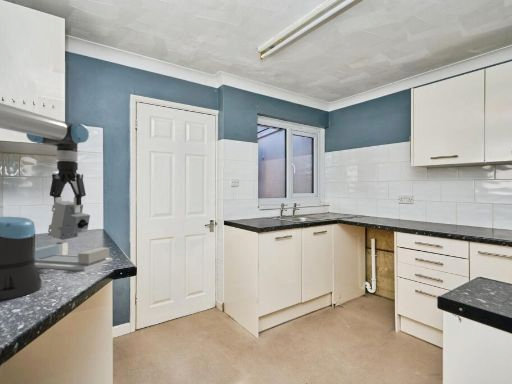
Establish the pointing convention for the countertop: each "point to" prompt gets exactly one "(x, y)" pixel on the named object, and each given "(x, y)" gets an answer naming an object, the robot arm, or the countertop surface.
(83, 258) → the rail board
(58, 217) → the circuit breaker
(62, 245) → the relay block
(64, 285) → the countertop surface
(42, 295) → the countertop surface
